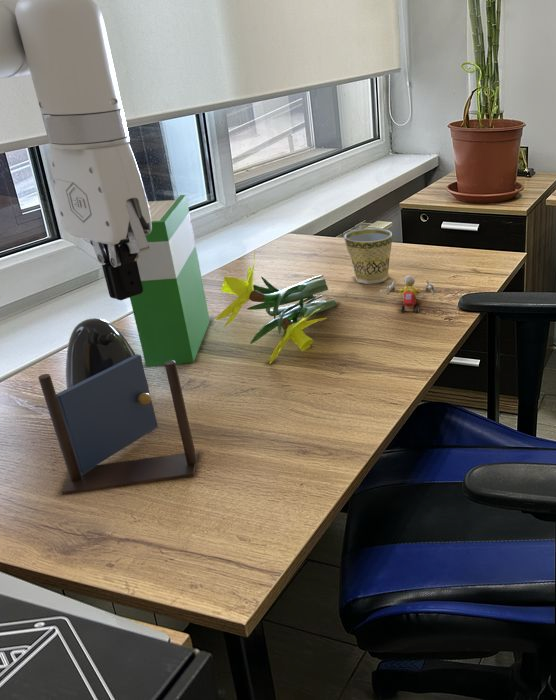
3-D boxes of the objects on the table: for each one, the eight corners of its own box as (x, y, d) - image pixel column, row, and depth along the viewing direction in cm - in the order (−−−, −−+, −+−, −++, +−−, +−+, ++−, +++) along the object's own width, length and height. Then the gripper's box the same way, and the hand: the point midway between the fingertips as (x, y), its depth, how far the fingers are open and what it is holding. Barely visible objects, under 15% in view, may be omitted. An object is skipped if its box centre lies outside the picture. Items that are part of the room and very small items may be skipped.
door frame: (63, 497, 85) (27, 387, 78) (74, 473, 89) (41, 367, 83) (196, 478, 88) (172, 371, 81) (200, 456, 92) (178, 353, 86)
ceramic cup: (376, 291, 145) (373, 244, 141) (338, 283, 150) (334, 237, 146) (411, 272, 156) (409, 228, 151) (375, 265, 160) (372, 222, 156)
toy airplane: (408, 318, 132) (406, 286, 129) (378, 306, 138) (376, 274, 135) (444, 305, 138) (443, 274, 135) (414, 293, 144) (413, 263, 141)
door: (92, 476, 86) (68, 398, 82) (78, 472, 87) (54, 394, 83) (166, 429, 96) (149, 357, 91) (153, 425, 97) (136, 353, 92)
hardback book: (168, 325, 131) (140, 197, 121) (210, 322, 132) (186, 194, 122) (146, 368, 115) (112, 224, 105) (194, 364, 116) (164, 221, 106)
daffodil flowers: (375, 311, 138) (318, 340, 104) (314, 348, 141) (239, 389, 106) (329, 236, 136) (255, 241, 102) (268, 275, 139) (177, 293, 105)
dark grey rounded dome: (100, 445, 95) (71, 342, 88) (63, 421, 101) (33, 323, 94) (169, 413, 102) (146, 316, 95) (130, 393, 108) (107, 300, 101)
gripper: (11, 129, 74) (58, 294, 82) (96, 140, 66) (138, 319, 74) (79, 120, 79) (117, 275, 87) (164, 129, 72) (197, 297, 80)
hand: (127, 295), depth 81 cm, fingers closed
